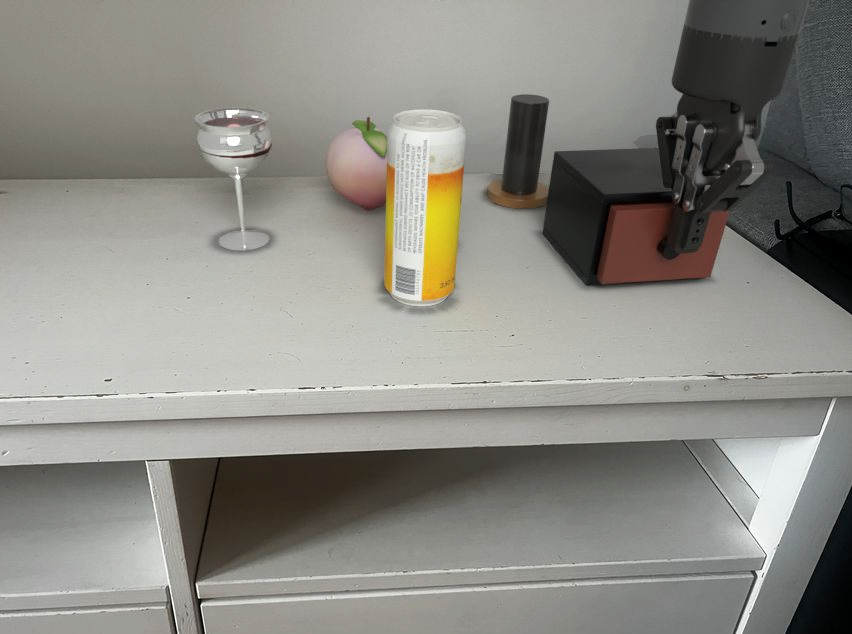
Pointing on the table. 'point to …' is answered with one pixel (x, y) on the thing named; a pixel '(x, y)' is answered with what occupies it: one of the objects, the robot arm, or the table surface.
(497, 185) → the disc
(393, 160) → the beer can
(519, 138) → the dark grey cylinder
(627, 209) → the cabinet drawer
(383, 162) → the decorative fruit
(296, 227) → the table surface
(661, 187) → the drawer cabinet
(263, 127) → the wineglass
